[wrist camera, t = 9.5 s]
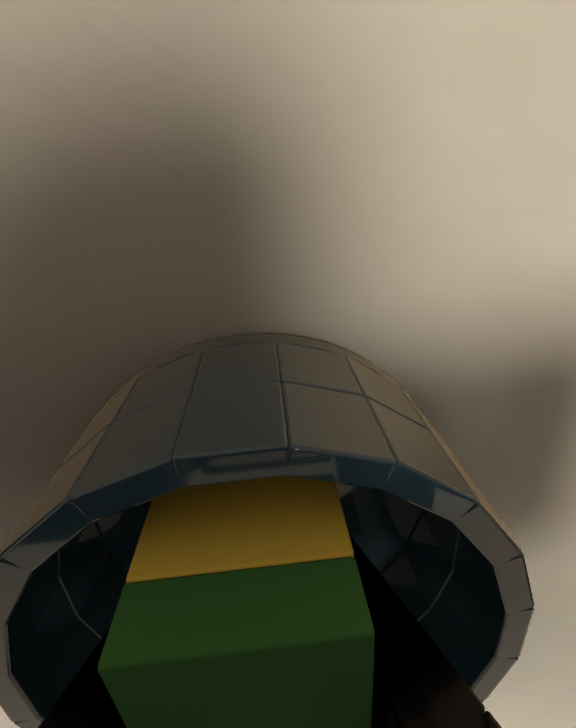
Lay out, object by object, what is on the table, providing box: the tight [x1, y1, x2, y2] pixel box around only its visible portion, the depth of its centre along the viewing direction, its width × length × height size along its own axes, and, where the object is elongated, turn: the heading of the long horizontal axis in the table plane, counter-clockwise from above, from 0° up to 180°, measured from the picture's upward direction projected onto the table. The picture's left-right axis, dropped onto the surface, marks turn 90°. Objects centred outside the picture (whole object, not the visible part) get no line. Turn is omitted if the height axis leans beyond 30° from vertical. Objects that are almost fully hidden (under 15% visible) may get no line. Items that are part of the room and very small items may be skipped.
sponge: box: [98, 476, 375, 728], centre depth 7 cm, size 4×3×4 cm, turn 4°
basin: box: [0, 334, 534, 728], centre depth 8 cm, size 9×9×4 cm
